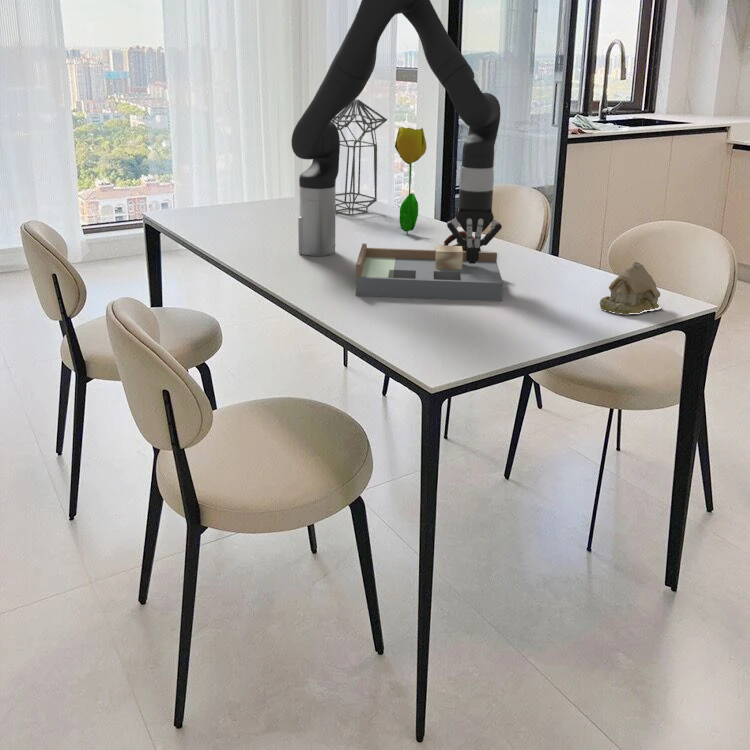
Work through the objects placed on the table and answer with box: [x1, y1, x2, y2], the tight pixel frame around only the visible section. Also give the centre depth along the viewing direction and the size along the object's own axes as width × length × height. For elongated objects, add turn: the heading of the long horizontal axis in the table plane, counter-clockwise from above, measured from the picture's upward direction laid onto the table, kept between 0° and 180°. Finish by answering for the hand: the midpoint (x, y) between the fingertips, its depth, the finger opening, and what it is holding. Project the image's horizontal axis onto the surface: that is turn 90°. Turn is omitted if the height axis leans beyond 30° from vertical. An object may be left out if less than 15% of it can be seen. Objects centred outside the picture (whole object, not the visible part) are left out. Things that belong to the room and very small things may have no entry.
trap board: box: [355, 243, 504, 302], centre depth 192 cm, size 32×20×7 cm, turn 87°
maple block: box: [435, 244, 463, 269], centre depth 194 cm, size 6×6×4 cm
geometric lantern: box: [331, 98, 388, 216], centre depth 265 cm, size 16×16×35 cm
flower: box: [394, 126, 427, 235], centre depth 238 cm, size 9×8×30 cm
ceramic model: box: [599, 261, 661, 314], centre depth 179 cm, size 14×11×10 cm
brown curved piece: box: [443, 230, 482, 252], centre depth 218 cm, size 12×10×8 cm
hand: (472, 262), depth 195 cm, fingers closed
